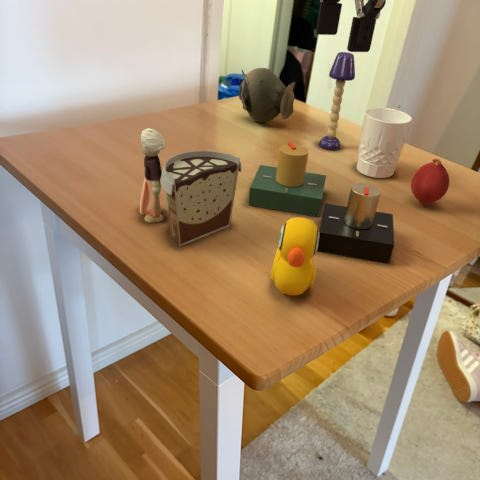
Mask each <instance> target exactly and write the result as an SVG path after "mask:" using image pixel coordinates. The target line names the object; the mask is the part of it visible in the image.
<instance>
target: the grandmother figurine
mask: <svg viewBox="0 0 480 480" xmlns="http://www.w3.org/2000/svg"><path fill="white" fill-rule="evenodd" d="M162 135H163V134H161V133H160V132H158V131H157V130H156V129H154V128H152V127H151V128H150V127H148V128H145V129H142V131H141V134H140V141H141V144H140V149H141V152H142V154H144V155H145V156H144V158H143V167H144V178H143V183H142V188H141V195H140V199H139V203H140V204H139V214H140V215H144V217H143V220H144V221H145V222H146V223H150V224H151V223H159V222H163V221H164V218H165V217H164V216H163V214H162V212H163V211H162V207H161V199H160V195H161V193H160V192H161V191H162V190H161V189H162V186H161V183H160V180H161V175H162V170H163V169H162V165H161V160H160V157H159V154H160V152H161V151H162V150H164V149H166V147H167V142H166V140H165V139H164V137H163V136H162Z"/></svg>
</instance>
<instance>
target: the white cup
mask: <svg viewBox="0 0 480 480" xmlns="http://www.w3.org/2000/svg"><path fill="white" fill-rule="evenodd" d="M412 121H413V119H412V116H411V115H409V114H408V113H406V112H404V111H401V110H398V109H393V108H389V107H370V108H368V109H366V110H365V113H364V117H363V124H362V128H361V133H360V134H361V135H360V140H359V145H358V146H359V147H358V152H357V154H358V156H357V161H356V170H357V171H358V172H359V173H360V174H362V175H364V176H366V177H371V178H374V179H386V178H387V179H388V178H390V177H392V176H393V175H394V173H395V170H396V166H397V164H398V161H399V159H400V157H401V153H402V150H403V148H404V145H405V142H406V139H407V136H408V133H409V130H410V127H411V123H412Z"/></svg>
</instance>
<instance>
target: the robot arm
mask: <svg viewBox="0 0 480 480" xmlns="http://www.w3.org/2000/svg"><path fill="white" fill-rule="evenodd" d="M319 1H320V2H319V3H320V4H319V11H318V15H317V21H316V30H315V32H316V34H317V35H318V36H319V35H322V36H335V35H337V33H338V29H339V26H340V25H339V24H340V18H341V13H342V7H343V3H342V2H341V0H319ZM386 3H387V0H367V2H366V3H365V0H354V5H355V14H356V16H353V17H352V19H351V24H350V25H351V27H350V32H349V37H348V42H347V46H346V50H347V52H349V53H368V52H370V50H371V46H372V41H373V37H374V33H375V27H376V24H377V20H379V18H380V16H381V11H382V10H383V9H384V8H385V5H386Z"/></svg>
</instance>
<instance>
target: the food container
mask: <svg viewBox="0 0 480 480" xmlns="http://www.w3.org/2000/svg"><path fill="white" fill-rule="evenodd" d="M161 170H162V175H161V180H160V183H161V189H162V190H163V191H164V192H166V202H167V211H168V222H169V231H170V238H171V240H172V241H173V243H174V244H175V245H176V246H177V247H179V248H181V247H183V246H185V245H187V244H190V243H193V242H195V241H198V240H200V239H203V238H205V237H208V236H210V235H212V234H214V233H217V232H220V231H221V230H224V229H227V228H229V227H231V220H232V215H233V207H234V203H235V202H234V201H235V197H236V196H235V195H236V189H237V182H238V176H239V173H242V171H243V170H242V162H241V158H240V157H238V156H236V155H233V154H230V153H226V152H221V151H214V150H191V151H184V152H181V153H177V154H175V155H173V156H171V157H169V158H167V160H166V161H165V163H164V166H163V168H162V169H161Z"/></svg>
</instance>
